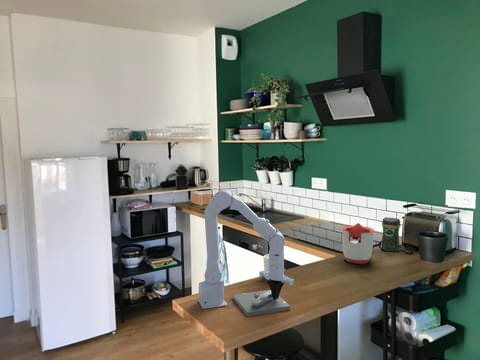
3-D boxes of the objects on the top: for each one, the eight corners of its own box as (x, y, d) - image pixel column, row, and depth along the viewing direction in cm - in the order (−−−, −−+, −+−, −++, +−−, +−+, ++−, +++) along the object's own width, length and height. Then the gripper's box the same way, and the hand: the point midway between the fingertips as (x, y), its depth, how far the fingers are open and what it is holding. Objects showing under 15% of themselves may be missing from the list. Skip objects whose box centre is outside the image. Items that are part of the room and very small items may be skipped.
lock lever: (257, 308, 141) (257, 300, 141) (249, 305, 144) (249, 297, 143) (277, 298, 150) (277, 290, 150) (270, 295, 153) (270, 288, 152)
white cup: (259, 277, 177) (260, 256, 176) (271, 273, 183) (271, 252, 182) (273, 282, 172) (273, 260, 171) (284, 278, 177) (284, 256, 176)
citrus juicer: (337, 263, 198) (338, 225, 196) (345, 254, 213) (346, 218, 211) (369, 268, 190) (370, 228, 188) (375, 259, 206) (376, 221, 204)
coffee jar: (400, 249, 223) (402, 217, 221) (397, 253, 217) (398, 220, 215) (383, 246, 229) (384, 215, 227) (379, 250, 222) (380, 218, 220)
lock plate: (247, 316, 139) (247, 300, 138) (232, 298, 154) (232, 283, 154) (290, 309, 145) (290, 293, 144) (272, 293, 160) (272, 278, 159)
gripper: (298, 265, 145) (297, 300, 147) (267, 257, 155) (266, 290, 156) (287, 270, 140) (287, 306, 141) (256, 261, 149) (255, 296, 151)
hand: (275, 298), depth 148 cm, fingers closed
